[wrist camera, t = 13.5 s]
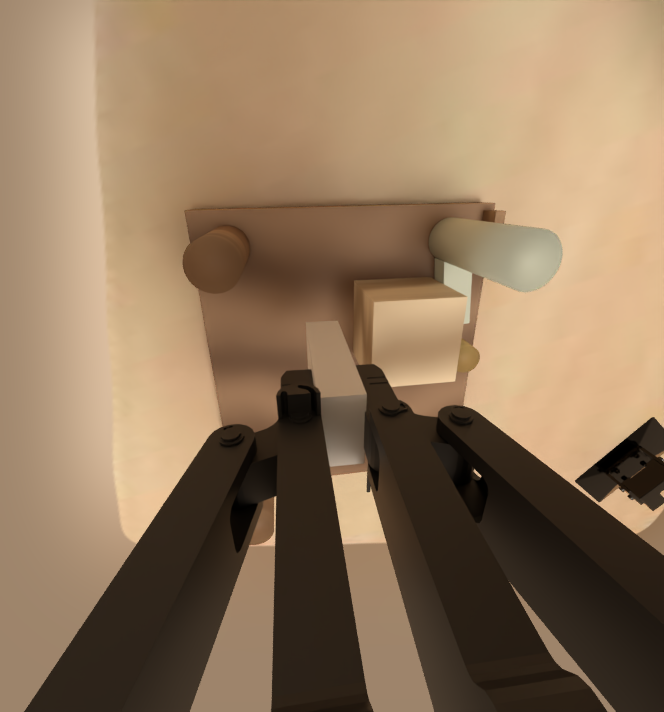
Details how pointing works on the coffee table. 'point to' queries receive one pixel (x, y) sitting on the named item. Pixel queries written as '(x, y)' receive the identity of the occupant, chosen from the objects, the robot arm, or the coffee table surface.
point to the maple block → (408, 329)
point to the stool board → (308, 296)
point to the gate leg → (493, 255)
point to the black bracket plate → (631, 468)
